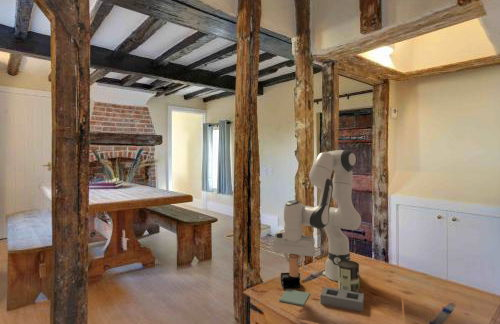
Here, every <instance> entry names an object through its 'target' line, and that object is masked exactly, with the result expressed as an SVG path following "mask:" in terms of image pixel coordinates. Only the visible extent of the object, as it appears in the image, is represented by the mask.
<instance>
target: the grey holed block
mask: <svg viewBox="0 0 500 324" xmlns="http://www.w3.org/2000/svg"><path fill="white" fill-rule="evenodd" d="M319 296H320V304H321V305H326V306H331V307H337V308H340V309H346V310H351V311H356V312H362V313H363V310H364V304H365V293H364V292H360V291H359V292H353V291H347V290H341V289H339V288H335V287H329V286H324V287H323V288H322V291H321V293H320V295H319Z"/></svg>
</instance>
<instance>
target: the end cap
mask: <svg viewBox="0 0 500 324" xmlns="http://www.w3.org/2000/svg"><path fill="white" fill-rule="evenodd" d="M280 284H281V286H282V289H283V290H287V289H290V290H297V289H298V290H300V289H301V284H302V283H301V273H300V272H299V276H298V277H291V276H290V275H289V272H280Z"/></svg>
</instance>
